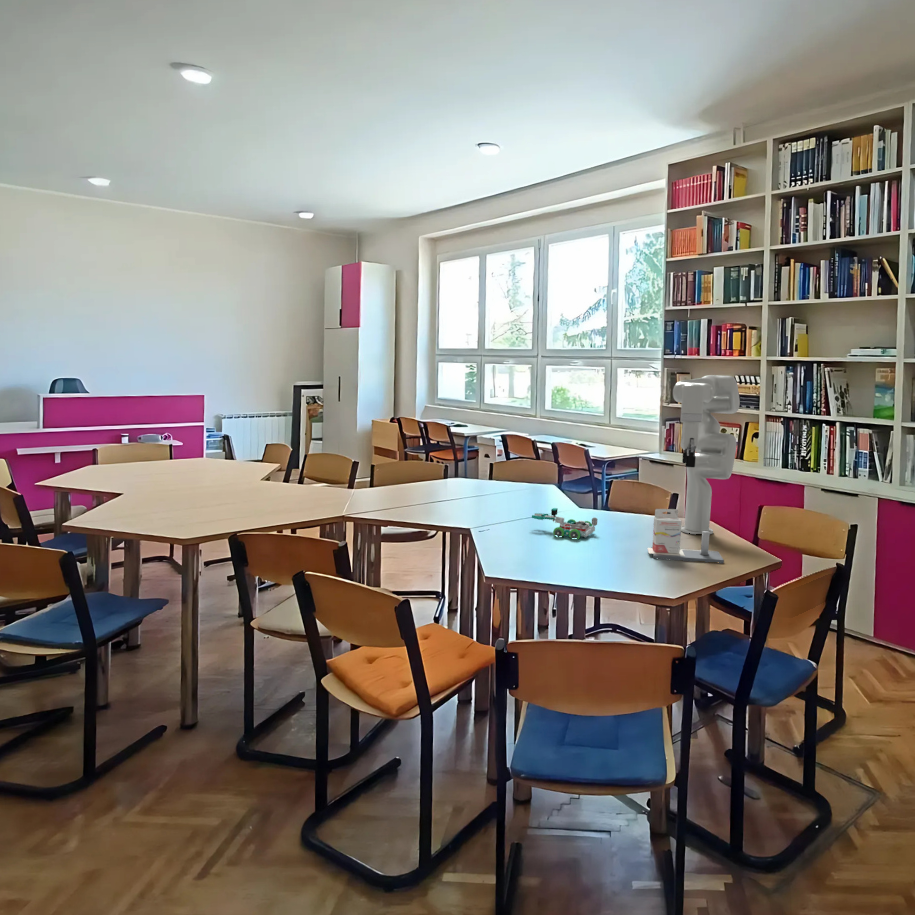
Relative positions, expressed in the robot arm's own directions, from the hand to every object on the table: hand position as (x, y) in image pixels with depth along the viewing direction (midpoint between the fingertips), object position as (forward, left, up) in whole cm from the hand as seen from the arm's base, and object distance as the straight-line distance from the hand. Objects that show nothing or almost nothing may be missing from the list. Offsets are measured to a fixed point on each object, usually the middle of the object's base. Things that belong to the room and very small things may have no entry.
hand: (688, 465), depth 274 cm
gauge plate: (+17, -1, -30) cm, 34 cm away
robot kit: (-8, -45, -31) cm, 55 cm away
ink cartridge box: (+17, -8, -29) cm, 34 cm away
